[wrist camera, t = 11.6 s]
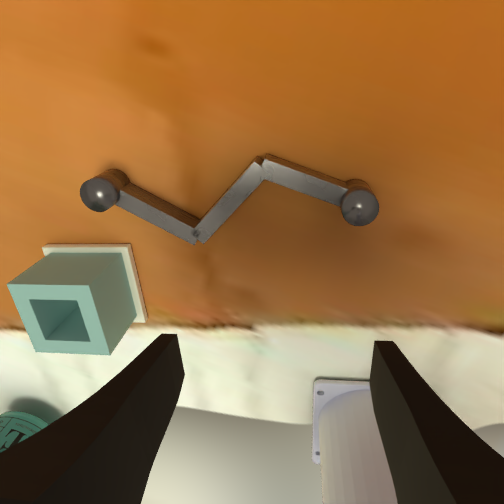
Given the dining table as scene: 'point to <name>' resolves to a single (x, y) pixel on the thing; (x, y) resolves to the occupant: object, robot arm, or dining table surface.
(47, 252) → the coaster
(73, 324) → the hollow square tube
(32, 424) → the beverage bottle
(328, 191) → the grey zigzag bar
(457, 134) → the dining table surface
